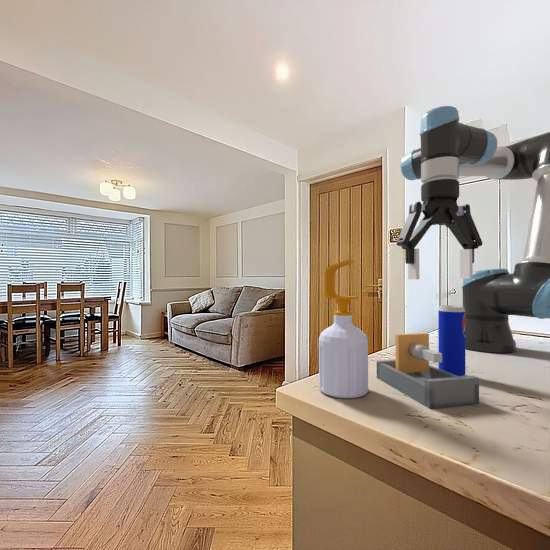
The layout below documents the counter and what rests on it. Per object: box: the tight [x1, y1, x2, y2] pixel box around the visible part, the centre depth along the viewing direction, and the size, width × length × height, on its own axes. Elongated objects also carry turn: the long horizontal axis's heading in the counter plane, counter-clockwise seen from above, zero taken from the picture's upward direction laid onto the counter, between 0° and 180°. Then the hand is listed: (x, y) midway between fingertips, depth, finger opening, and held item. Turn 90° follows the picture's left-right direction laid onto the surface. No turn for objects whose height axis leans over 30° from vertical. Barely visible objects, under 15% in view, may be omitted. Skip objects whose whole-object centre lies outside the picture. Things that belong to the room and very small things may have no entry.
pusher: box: [395, 332, 442, 373], centre depth 63 cm, size 7×8×8 cm
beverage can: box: [437, 304, 466, 377], centre depth 72 cm, size 5×5×15 cm
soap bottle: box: [318, 259, 369, 399], centre depth 63 cm, size 9×9×25 cm
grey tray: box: [376, 358, 480, 409], centre depth 64 cm, size 10×17×4 cm, turn 12°
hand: (440, 279), depth 73 cm, fingers open, 13 cm apart
